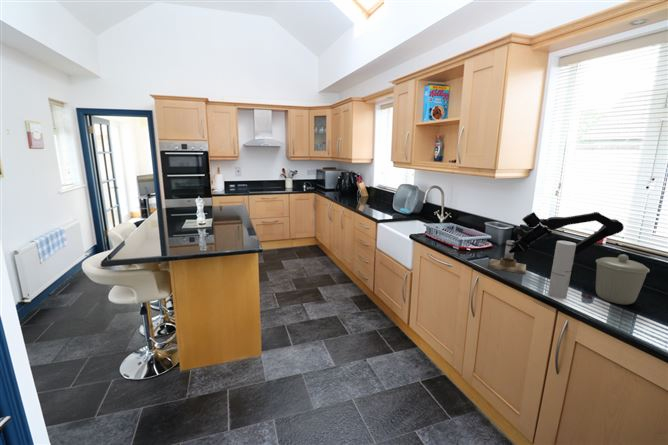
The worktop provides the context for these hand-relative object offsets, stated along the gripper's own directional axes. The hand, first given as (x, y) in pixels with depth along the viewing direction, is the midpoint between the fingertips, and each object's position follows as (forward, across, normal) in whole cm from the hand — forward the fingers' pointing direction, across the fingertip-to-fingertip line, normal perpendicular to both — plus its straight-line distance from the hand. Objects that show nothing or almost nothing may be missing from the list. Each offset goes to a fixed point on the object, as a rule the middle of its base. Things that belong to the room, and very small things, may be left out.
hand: (509, 250), depth 185 cm
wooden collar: (+6, 0, +6) cm, 9 cm away
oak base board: (+7, 0, +7) cm, 10 cm away
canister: (-24, +21, +38) cm, 50 cm away
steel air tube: (+6, 0, +6) cm, 8 cm away
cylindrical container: (-8, +30, +23) cm, 39 cm away
